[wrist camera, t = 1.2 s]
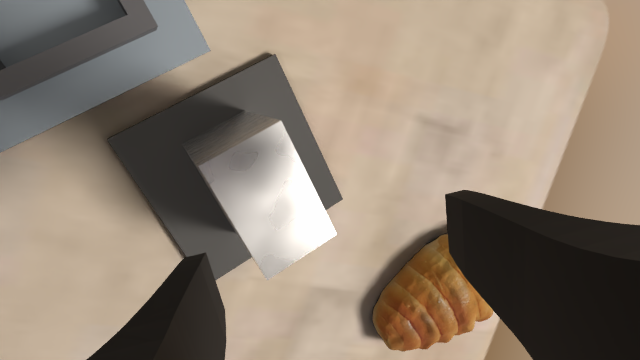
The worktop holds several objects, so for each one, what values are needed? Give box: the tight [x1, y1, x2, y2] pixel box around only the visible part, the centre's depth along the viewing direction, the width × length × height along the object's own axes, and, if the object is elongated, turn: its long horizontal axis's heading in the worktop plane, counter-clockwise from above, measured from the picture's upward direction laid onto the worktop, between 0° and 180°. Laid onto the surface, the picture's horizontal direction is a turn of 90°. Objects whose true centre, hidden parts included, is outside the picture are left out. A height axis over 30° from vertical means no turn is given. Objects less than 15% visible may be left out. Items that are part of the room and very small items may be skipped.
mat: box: [107, 54, 343, 280], centre depth 22 cm, size 9×9×1 cm
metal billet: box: [182, 110, 337, 280], centre depth 19 cm, size 4×6×6 cm, turn 26°
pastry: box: [373, 234, 493, 351], centre depth 28 cm, size 9×7×4 cm
